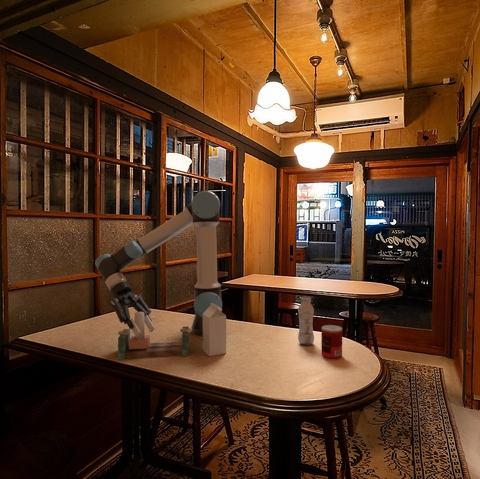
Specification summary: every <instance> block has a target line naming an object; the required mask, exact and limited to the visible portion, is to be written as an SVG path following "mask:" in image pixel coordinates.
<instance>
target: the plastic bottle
mask: <svg viewBox="0 0 480 479" xmlns="http://www.w3.org/2000/svg"><path fill="white" fill-rule="evenodd" d="M311 302H312V299H311V296H308V295H304V296H301V303H300V304H299V306H298V307H297V308H298V309H297V311H298V312H297V313H298V322H299V328H298V329H299V330H298V334H297V339H298V342H299V344H301V345H304V346H305V345H306V346H307V345H308V346H309V345H312V344H314V341H315V335H314V329H313V321H314V314H315V313H314V311H315V308H314V307H313V305H312V303H311Z"/></svg>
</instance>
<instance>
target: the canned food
mask: <svg viewBox="0 0 480 479" xmlns="http://www.w3.org/2000/svg"><path fill="white" fill-rule="evenodd" d="M320 344H321V350H320V351H321V357H322V358H323V359H326V360H330V361H331V360H333V361H334V360H335V361H337V360H340V359H341V358H342V356H343V328H342V327H341V326H340V325H333V324H328V325H327V324H326V325H322V326H321V343H320Z"/></svg>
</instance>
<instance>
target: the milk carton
mask: <svg viewBox="0 0 480 479" xmlns="http://www.w3.org/2000/svg"><path fill="white" fill-rule="evenodd" d="M222 311H223V308H222V309H221V308H220V307H218V306H216V305H214V304H212V303H211V306H210V307H209V308H208V309H207V310H206V311H205V312H204V313H203V336H202V352H203V353H205V354H206V355H207V356H208V357H213V356H219V355H224V354H227V315H226V314H225V313H223V312H222Z"/></svg>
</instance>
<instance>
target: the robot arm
mask: <svg viewBox="0 0 480 479" xmlns="http://www.w3.org/2000/svg"><path fill="white" fill-rule="evenodd" d="M220 209H221V200H220V199H219V197H218V196H217V194H215V193H214V192H212V191H209V190H202V191H199V192H197V193H196V194H195V195H194V196H193V198H192V199H191V202H190V203H189V204H188V205H187V206H185V208H184V210H183V211H181V212H180V213H178V214H176V215H175V216H173V217H172V218H170V219H169V220H167V221H165V222H164V223H163V224H161V225H159V226H157V227H156V228H155V229H153V230H151V231H150V232H148V233H146V234H145V235H144V236H142V237H140V238H139V239H137V240H136V241H135V240H130V241H129V242H127V243H125V244H124V245H123V246H122V247H120V248H119V249H118V250H117V251H115V252H114V253H113V254H110V253H103V254H102V255H99V256H98V257H97V258H96V259H95V262H94V264H95V266H96V269H97V271H98V273H99V275H100V276H101V277H102V280H103V281H104V283H105V284H106V286H107V288H108V290H109V291H110V293H111V295H112V296H113V298H112V300H111V301H110V305H111V306H112V308H113V309H114V312H115V314H116V316H117V319H118V320H119V322H120V323H122V324H124V325H127V327H128V329H130V330H131V331H132V333H133V335H134V336H136V337H138V335H139V334H140V333H141V332H140V330H139V328H138V327H137V325H136V323H135V319H134V318H131V314H130V310H129V306H130V307H131V308H133V309H134V310H135V311H136V312H144V325H145V326H146V327H147V329H148V330H149V332H150V333H152V332H154V330H155V329H156V327H155V325H154V324H153V320H152V318H151V316H150V315H151V313H152V310H151V309H150V307H149V306H148V305H147V303H146V302H145V300H144V299H143V297H142V294H141V293H138V294H134V293H133V292H132V288H131V286H130V284H129V282H128V281H127V279H126V277H125V276H124V275H123V273H122V270H123V269H125V268H127V266H129V265H130V264H132V263H133V262H136V261H138V260H139V259H141V258H143V257H144V256H145V255H147V254H148V253H150V252H151V251H153V250H154V249H156V248H158V247H159V246H161V245H162V244H164V243H166V242H167V241H169V240H171V239H172V238H174V237H175V236H177V235H178V234H180V233H181V232H183V231H185V230H187V228H189V227H191V226H193V225H194V226H195V227H196V228H195V230H196V231H195V233H196V267H197V268H196V270H197V271H196V273H197V275H196V276H197V277H196V278H197V282H196V283H195V284H194V286H193V295H194V296H193V298H194V302H193V309H194V317H193V318H194V319H193V321H192V324H191V328H190V329H191V331H190V332H191V333H192V334H194V335H197V336H201V337H203V313H204V312H205V311H206V310H207V309H208V308H209V307H210V306H211V303H212V304H214V305H216V306H218V307H220V308H221V309H222V310H223V308H222V307H223V301H222V285H221V284H220V283H219V281H218V256H217V255H218V253H217V252H218V250H217V249H218V248H217V247H218V246H217V226H218V225H219V224H220V222H221V221H220V219H221V218H220Z"/></svg>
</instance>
